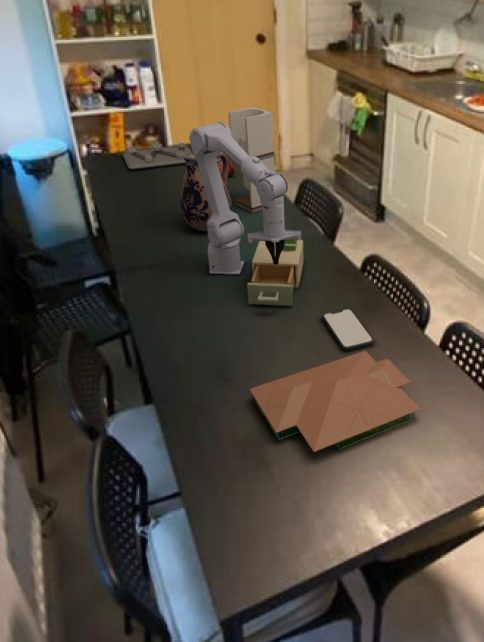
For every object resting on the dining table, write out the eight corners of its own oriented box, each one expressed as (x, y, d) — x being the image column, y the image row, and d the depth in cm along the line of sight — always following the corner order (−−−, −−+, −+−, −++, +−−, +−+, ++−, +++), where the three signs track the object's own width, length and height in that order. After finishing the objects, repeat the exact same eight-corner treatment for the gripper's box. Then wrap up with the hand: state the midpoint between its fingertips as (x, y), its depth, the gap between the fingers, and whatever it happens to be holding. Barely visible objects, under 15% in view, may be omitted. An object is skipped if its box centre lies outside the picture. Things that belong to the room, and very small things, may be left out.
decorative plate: (129, 172, 245) (126, 156, 241) (122, 156, 261) (119, 141, 257) (198, 163, 256) (196, 148, 252) (187, 149, 272) (185, 134, 268)
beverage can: (236, 177, 242) (235, 162, 238) (209, 181, 237) (207, 166, 234) (231, 172, 247) (230, 157, 244) (204, 176, 243) (203, 161, 239)
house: (429, 415, 124) (433, 388, 120) (293, 471, 110) (292, 442, 106) (374, 357, 141) (376, 331, 136) (250, 399, 127) (248, 372, 123)
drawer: (290, 313, 155) (289, 294, 151) (246, 311, 155) (244, 292, 152) (297, 279, 170) (297, 261, 167) (257, 277, 170) (255, 259, 167)
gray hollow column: (259, 197, 225) (254, 107, 206) (276, 205, 219) (272, 113, 199) (235, 204, 218) (228, 112, 199) (252, 213, 212) (246, 118, 193)
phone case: (375, 345, 145) (350, 312, 157) (375, 341, 144) (350, 307, 156) (343, 353, 142) (320, 318, 154) (343, 348, 141) (320, 314, 154)
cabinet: (298, 287, 168) (298, 264, 164) (253, 285, 168) (251, 262, 164) (303, 262, 181) (303, 240, 176) (261, 260, 181) (260, 238, 177)
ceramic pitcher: (173, 231, 197) (162, 162, 184) (206, 209, 214) (199, 144, 200) (216, 241, 192) (208, 170, 178) (247, 217, 208) (242, 151, 195)
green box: (295, 252, 170) (295, 239, 167) (281, 251, 170) (280, 238, 167) (297, 241, 175) (297, 229, 173) (283, 241, 176) (283, 228, 173)
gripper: (247, 226, 148) (250, 271, 156) (301, 223, 150) (302, 268, 158) (246, 215, 154) (249, 259, 162) (299, 213, 156) (299, 256, 164)
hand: (275, 262), depth 160 cm, fingers closed
